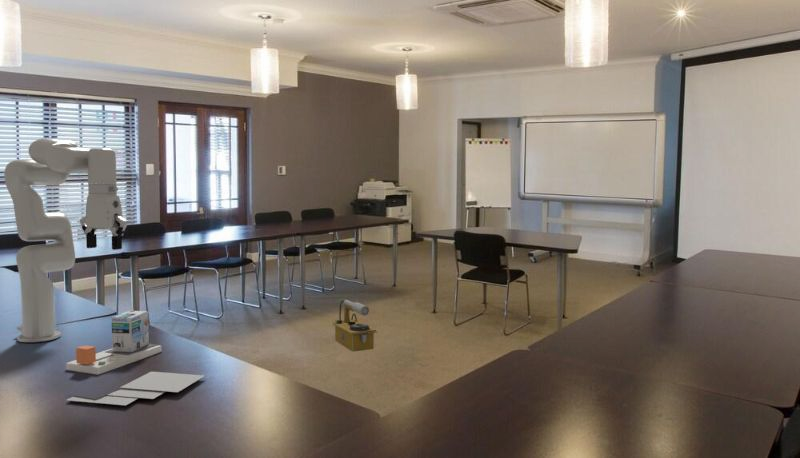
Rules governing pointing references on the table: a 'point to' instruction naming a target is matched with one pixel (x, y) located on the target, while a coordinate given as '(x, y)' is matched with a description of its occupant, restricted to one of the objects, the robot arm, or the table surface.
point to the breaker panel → (113, 359)
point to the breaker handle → (85, 355)
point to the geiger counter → (354, 328)
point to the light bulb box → (130, 331)
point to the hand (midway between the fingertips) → (104, 248)
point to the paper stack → (145, 388)
